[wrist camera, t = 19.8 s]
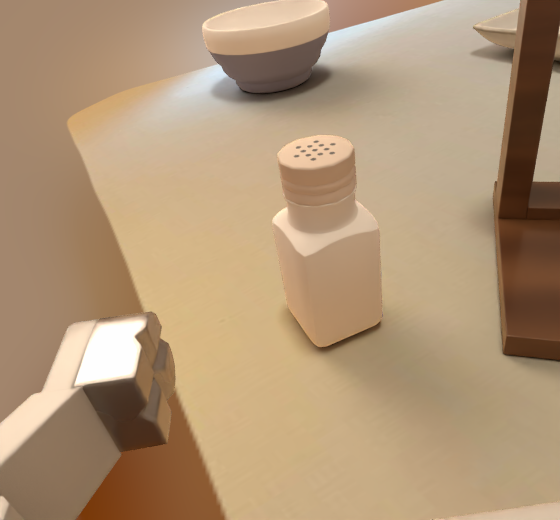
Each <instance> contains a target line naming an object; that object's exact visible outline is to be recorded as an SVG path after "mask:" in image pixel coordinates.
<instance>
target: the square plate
mask: <svg viewBox="0 0 560 520" xmlns="http://www.w3.org/2000/svg"><path fill="white" fill-rule="evenodd" d="M518 15H519V8H518V9H515V10H513V11H510V12H507V13H505V14H502V15H499V16H496V17H494V18H491V19H488V20H485V21H482V22H480V23H477V24H475V25H474V26H473V28H474V29H475V30H476V31H477V32H478V33H480V34H481V35H482V36H483V37H484V38H486V39H487V40H489V41H491V42H493V43H495V44H498V45H500V46H504V47H507V48H512V49H514V46H515V38H516V31H517V23H518ZM554 60H557V61H560V27H559V33H558V39H557V44H556V50H555V56H554Z"/></svg>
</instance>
